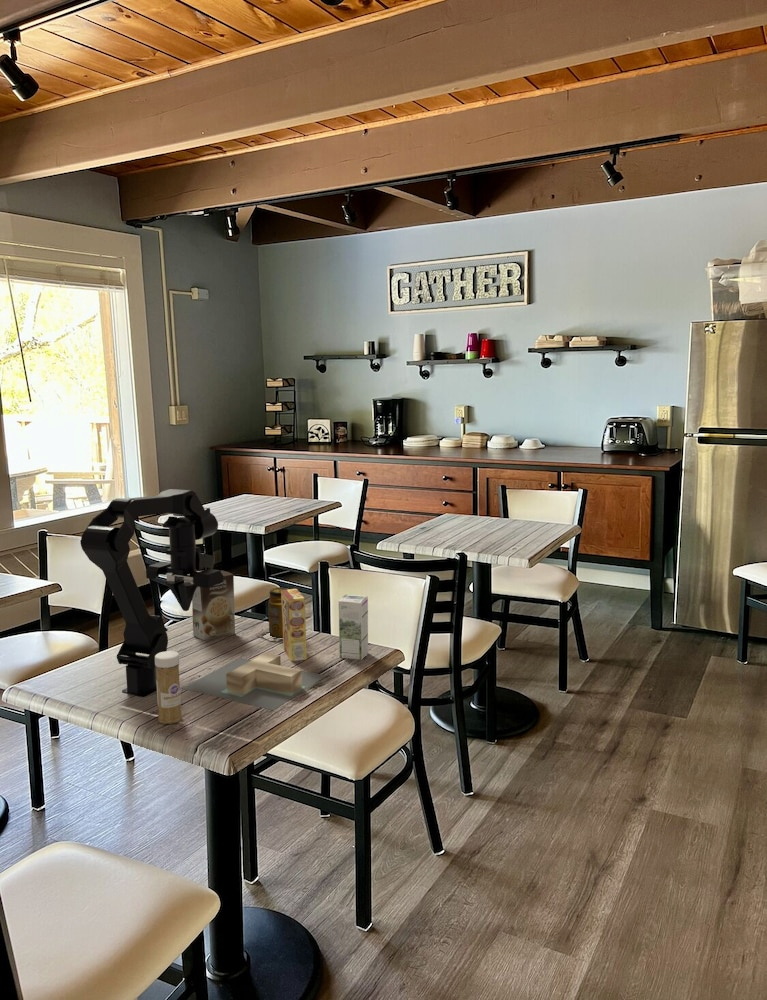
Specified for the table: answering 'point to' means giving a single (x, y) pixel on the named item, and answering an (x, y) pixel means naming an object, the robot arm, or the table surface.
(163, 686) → the sprinkles bottle
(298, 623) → the candy box
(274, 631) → the condiment
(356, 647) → the syrup box
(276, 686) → the t block
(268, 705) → the push mat
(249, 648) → the table surface
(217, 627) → the coffee box
